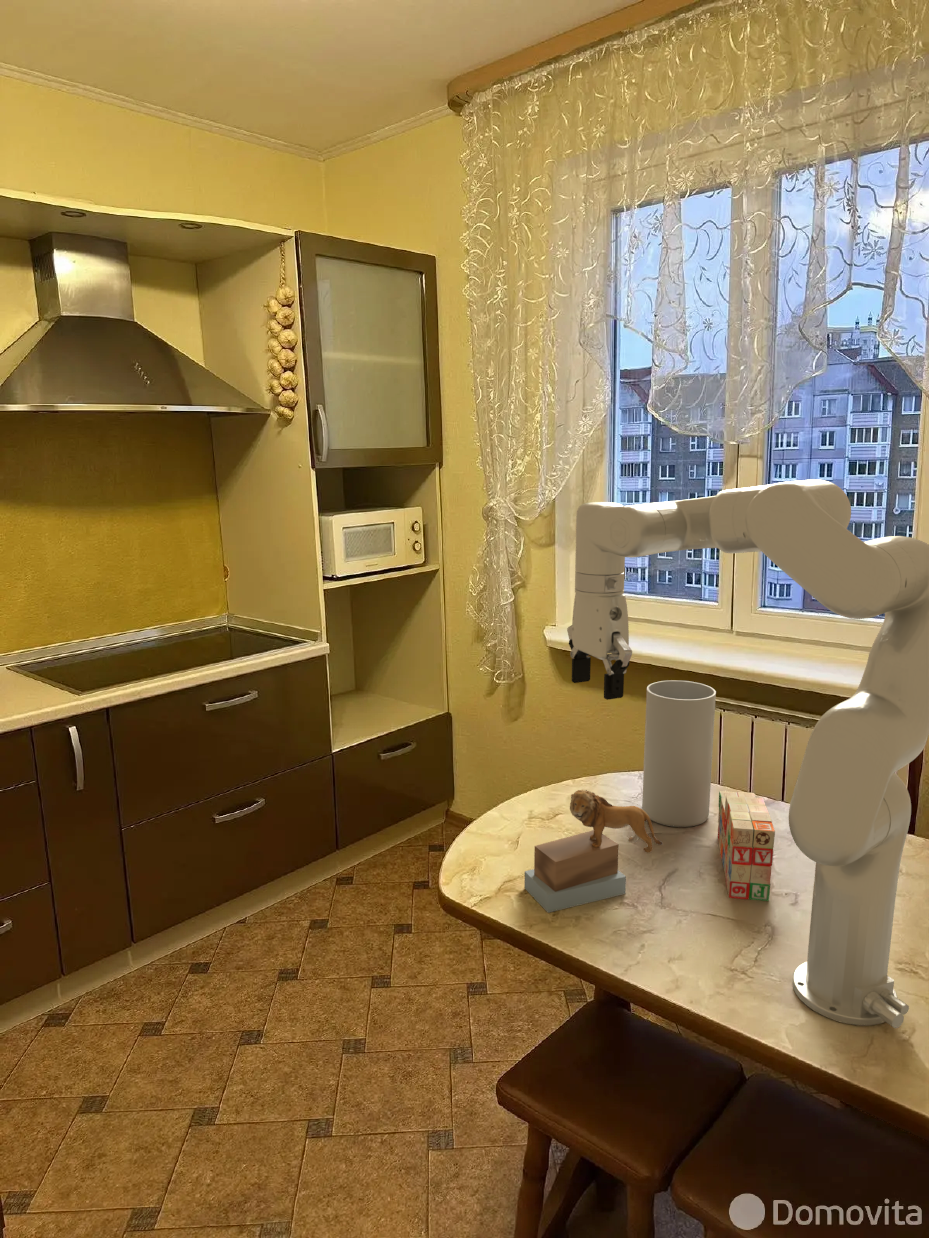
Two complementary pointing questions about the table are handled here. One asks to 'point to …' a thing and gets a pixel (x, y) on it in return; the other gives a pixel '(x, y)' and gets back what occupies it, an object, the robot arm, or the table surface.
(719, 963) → the table surface
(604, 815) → the lion figurine
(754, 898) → the stack of blocks
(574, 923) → the table surface
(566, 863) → the walnut brick
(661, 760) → the cylinder vase
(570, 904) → the base slab
